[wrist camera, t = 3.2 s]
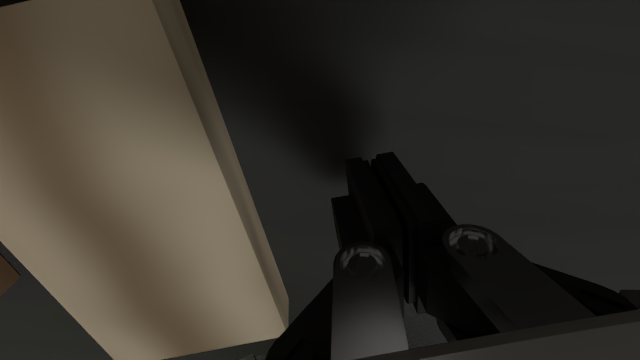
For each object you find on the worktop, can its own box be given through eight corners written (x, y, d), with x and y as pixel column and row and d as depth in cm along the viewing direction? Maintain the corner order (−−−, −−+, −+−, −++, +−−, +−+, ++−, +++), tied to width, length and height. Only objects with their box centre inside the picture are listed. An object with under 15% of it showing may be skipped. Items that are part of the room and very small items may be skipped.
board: (178, -17, 9) (141, -25, 7) (289, 291, 16) (288, 335, 14) (-72, 39, 9) (-184, 48, 7) (144, 319, 16) (121, 366, 14)
